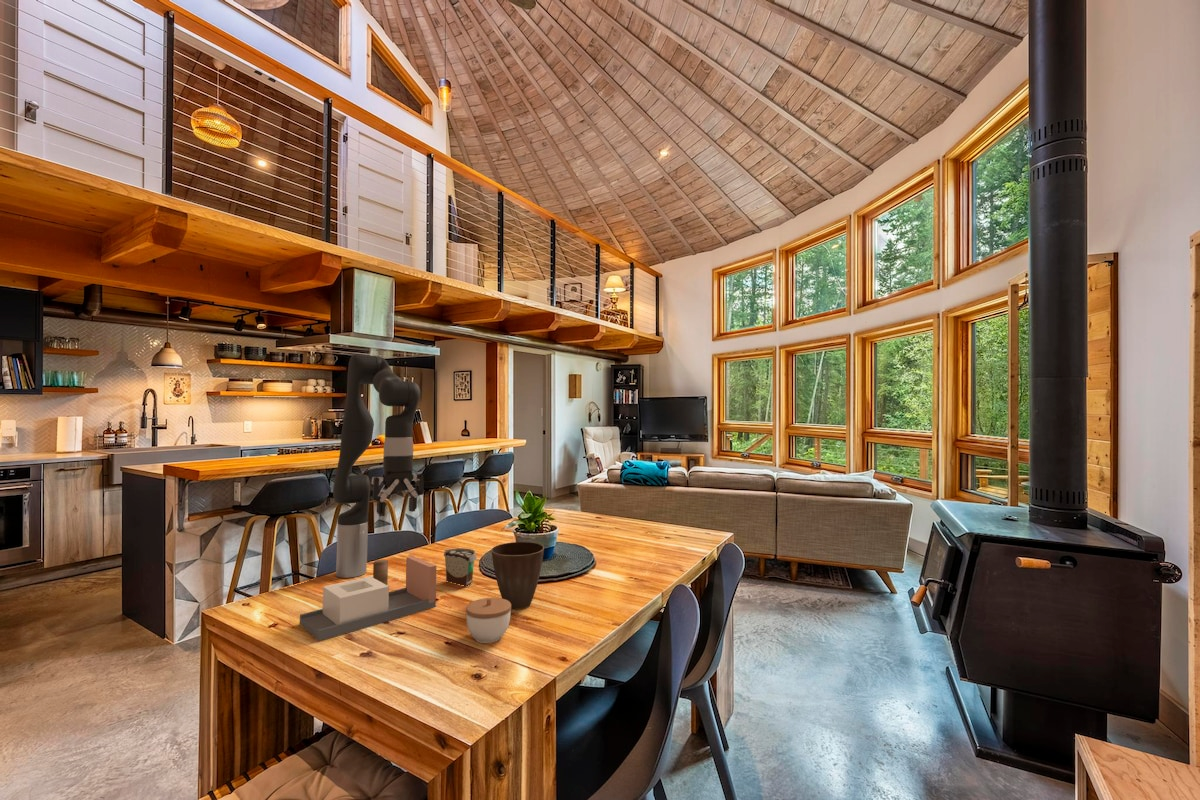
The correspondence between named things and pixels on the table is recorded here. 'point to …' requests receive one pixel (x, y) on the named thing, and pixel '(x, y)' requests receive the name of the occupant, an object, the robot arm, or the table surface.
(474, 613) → the lidded jar
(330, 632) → the track
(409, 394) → the robot arm
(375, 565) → the dowel
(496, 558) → the plant pot
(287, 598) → the table surface
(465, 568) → the food container
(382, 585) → the socket block
